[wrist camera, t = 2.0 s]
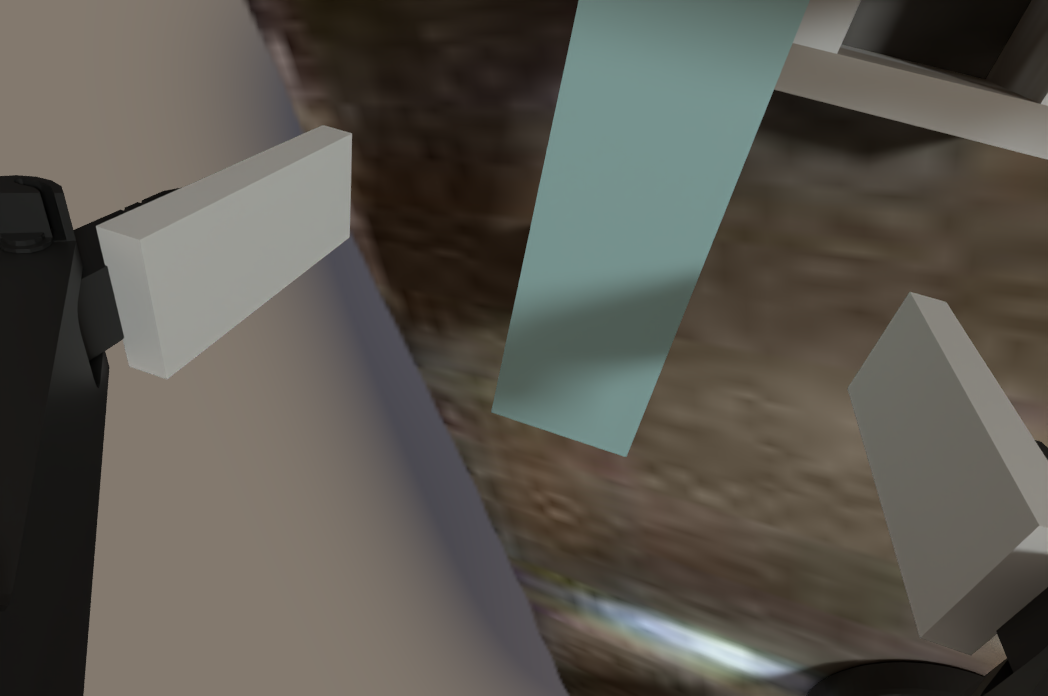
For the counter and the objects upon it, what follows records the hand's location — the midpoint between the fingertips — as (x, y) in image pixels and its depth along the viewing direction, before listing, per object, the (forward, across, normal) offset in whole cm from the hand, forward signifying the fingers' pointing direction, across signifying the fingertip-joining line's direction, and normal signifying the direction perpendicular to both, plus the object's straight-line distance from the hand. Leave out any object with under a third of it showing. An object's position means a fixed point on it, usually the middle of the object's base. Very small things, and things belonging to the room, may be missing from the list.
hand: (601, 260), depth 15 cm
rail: (+16, 0, 0) cm, 16 cm away
